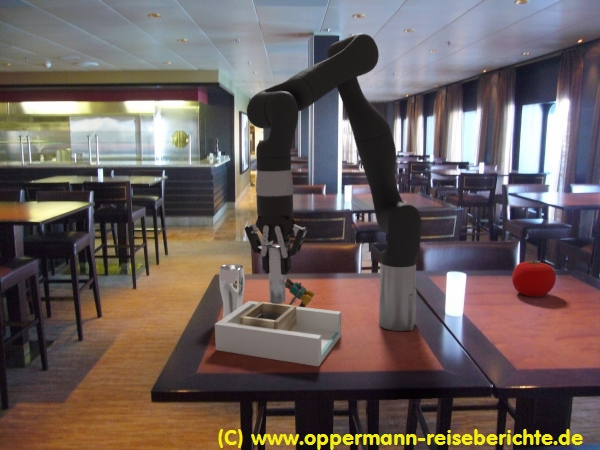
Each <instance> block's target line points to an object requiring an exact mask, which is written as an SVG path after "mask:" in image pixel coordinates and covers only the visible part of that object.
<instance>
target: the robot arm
mask: <svg viewBox="0 0 600 450" xmlns="http://www.w3.org/2000/svg"><path fill="white" fill-rule="evenodd" d="M379 56H380V55H379V47H378V45H377V43H376V41H375V39H374V38H373V37H372V36H371V35H370V34H367V33H355V34H353V35H351V36H348V37H346V38H344V39H341V40H338V41H336V42H334V43H332V44H331V45H330V46H329V47H328V50H327V56H326V59H324V60H322V61H320V62H317V63H315V64H313V65H311V66H309V67H307V68H305V69H303V70H301V71H300V72H298V73H296V74H295V75H293V76H291V77H290V78H288V79H287V80H285V81H283V82H281V83H278V84H275V85H273V86H270V87H268V88H266V89H263V90H261V91H259V92H258V93H256V94H254V96H252V98H250V100H249V101H248V103H247V107H246V115H247V119H248V120H249V123H251V125H253V126H254V127H256V128H258V129H264V130H265V129H270V131H269V135H268V138H267V139H265V140H262V141H260V142H258V144H257V145H256V151H255V154H256V155H255V157H256V178H255V193H256V215H257V219H256V220H255V223H252V224H249V225H246V226H245V227H244V232H245V234H246V237H247V239H248V241H249V244H250V246H251V249H252V251H253V253H254V254H259V255H260V256H261V264H262V266H261V267H262V271H263V272H264V274H268V275H269V262H268V246H270V245H273V243H274V241H275V242H277V243H278V245H279V247H280V248H281V252H282V256H283V258H282V275H285V276H287V275H288V274H290V272H291V270H292V256H295V255H297V254H299V253H300V252H301V248H302V246H303V243H304V241H305V238H306V234H307V233H308V228H307V227H306V226H303V227H302V226H300V225H297V224H296V221H295V220H294V190H293V189H294V185H293V183H294V182H293V174H292V153H291V149H292V146H293V142H294V138H295V134H296V133H295V132H296V128H297V125H298V122H299V121H298V120H299V112H302V111H303V110H306V109H307V108H309V107H311V106H312V105H314V104H315V103H317V101H319V100H320V99H322V98H323V97H324V96H326V95H327V94H328V93H330V92H332V91H333V90H335V89H337V92H338V94H339V97H340V98H341V101H342V103H343V106H344V110H345V112H346V116H347V118H348V122H349V124H350V128H351V131H352V135H353V138H354V142H355V146H356V149H357V154H358V155H359V159H360V161H361V165H362V168H363V171H364V175H365V178H366V180H367V183H368V187H369V189H370V194H371V198H372V204H373V209H374V214H375V215H374V216H375V220H376V223H377V225H378V227H379V229H380V230H381V231H382V232H383V233H384V234H385V235H387V236H386V237H387V238H386V239H387V240H386V248H385V249H383V250H382V251H381V252H380V257H379V258H380V262H379V263H380V264H379V265H380V266H379V311H378V312H379V313H378V315H379V316H378V324H379V326H380V327H381V328H383V329H385V330H388V331H392V332H393V331H394V332H404V331H413V330H414V328H415V325H416V320H417V319H416V314H417V310H416V309H417V289H416V277H417V275H416V272H417V270H416V269H417V259H418V258H417V257H418V256H419V253H420V249H421V238H422V237H421V236H422V235H421V234H422V217H421V214H420V211H419V210H418V208H417V207H415V206H414V205H413V204H409V203H406V202H404V201H403V200H402V197H401V195H400V191H399V188H398V184H397V180H396V168H397V167H396V165H397V150H396V149H397V148H396V145H395V141H394V135H393V133H392V130H391V126H390V124H389V122H388V120H387V119H386V118H385V117H384V116H383V115H382V114H381V112H380V111H379V110H377V109H376V108H375V106H374V105H373V104H371V102H370V101H369V100H368V99H367V98H366V96H365V95H364V93H363V91H362V88H361V85H360V83H359V80H358V77H360V76H364V75H366V74H368V73H370V72H372V71H373V69H375V68H376V66H377V64H378V61H379ZM259 232H260V234H261V235H262V238H261V239H260V236H259V234H258V233H259ZM292 232H293V235H294V237H295V238H294V240H293V243H292V246H291V238H290V235H291V234H292Z"/></svg>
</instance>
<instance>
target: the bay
mask: <svg viewBox="0 0 600 450" xmlns="http://www.w3.org/2000/svg"><path fill="white" fill-rule="evenodd" d="M259 302H260V301H253V300H247V301H246V302H245V303H243V304H242V306H240V307H239V308H238V309H236V310H235V311H233V312H232V313H230V314H229V315H227V316H226V317H225V318H223V317H222V319H220V320H219V321H217V322H216V323H214V337H215V338H214V339H215V340H214V341H215V351H220V352H227V353H231V354H233V353H234V354H239V355H245V356H250V357H251V356H252V357H258V358H264V359H271V360H276V361H282V362H290V363H294V364H300V365H308V366H314V367H319V366H320V365H321V364H322V362H323V361H324V360H325V358H326V357H327V356H328V355H329V353H330V352H331V350H332V349H333V348H334V347H335V345H336V344H337V343H338V341H339V340H340V339H341V337H342V311H337V310H331V309H330V310H329V309H321V308H314V307H313V308H312V307H306V306H305V307H299V306H297V305H295V306H296V322H297V328H296V329H295V330H294V331H286V330H279V329H271V328H264V327H257V326H249V325H242V324H239V317H240V316H242V315H243V314H244V313H246V312H247V311H248V310H250V309H251V308H253V307H254V306H255V305H257V304H258V303H259Z"/></svg>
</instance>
